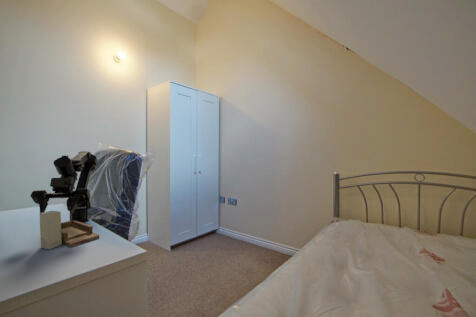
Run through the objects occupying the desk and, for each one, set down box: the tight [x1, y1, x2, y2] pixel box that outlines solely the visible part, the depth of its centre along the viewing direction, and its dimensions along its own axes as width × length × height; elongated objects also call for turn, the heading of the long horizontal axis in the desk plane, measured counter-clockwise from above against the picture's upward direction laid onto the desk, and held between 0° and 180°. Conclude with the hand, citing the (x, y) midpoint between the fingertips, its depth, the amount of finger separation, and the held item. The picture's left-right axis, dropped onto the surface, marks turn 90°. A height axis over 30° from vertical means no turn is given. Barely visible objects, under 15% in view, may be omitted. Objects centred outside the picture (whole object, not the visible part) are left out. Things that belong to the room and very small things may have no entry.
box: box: [39, 210, 63, 250], centre depth 79 cm, size 5×4×13 cm
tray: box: [61, 220, 100, 248], centre depth 88 cm, size 10×21×4 cm, turn 61°
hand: (56, 213), depth 83 cm, fingers open, 9 cm apart
